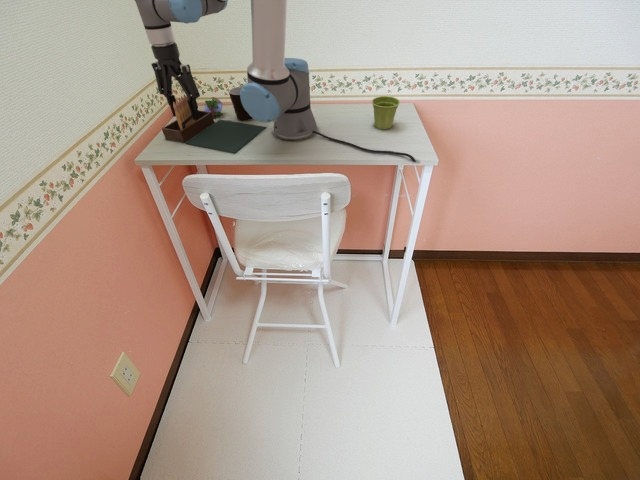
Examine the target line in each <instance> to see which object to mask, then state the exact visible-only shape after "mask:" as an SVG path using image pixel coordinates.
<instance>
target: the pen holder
mask: <svg viewBox="0 0 640 480" xmlns="http://www.w3.org/2000/svg"><path fill="white" fill-rule="evenodd" d="M198 113H199V116H200V117H199V118H198V120H197V121H196V122H194V123H192V124H191V125H189V126H188V127H186V128H184V129H183V130H181V131H180V130H179V127H178V124H177V123H178V121H177V119H175V120H173V121H171V122H170V123H168V124H167V125H165V126H163V127H162V128H161V130H162V133H163V136H164V138H165V140H166V141H171V142H177V143H182V144H186V142H187V141H189V140H190V139H192V138H193V137H195V136H196V135H198V134H199V133H201V132H202V131H204V130H205V129H207V128H208V127H210V126H211V125H213V124H214V123H215V118H213V115H212V112H207V111H204V110H200V109H198Z"/></svg>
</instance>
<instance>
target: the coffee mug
mask: <svg viewBox="0 0 640 480" xmlns="http://www.w3.org/2000/svg"><path fill="white" fill-rule="evenodd" d="M243 86H244V85H243ZM243 86H236V87H232V88H230V89H229V90H228V94H229V98H230V101H231V104H232V106H233V107H232V108H233V110H234V113H235V116H236V120H238V121H239V122H249V121H251V120H254V119H253V118H252V117H251V116H250V115H249V114H248V112H247V111H246V110H245V109H244V107H243V105H242V102H241V98H240V93H241V89H242V88H243Z"/></svg>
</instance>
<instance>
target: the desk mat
mask: <svg viewBox="0 0 640 480" xmlns="http://www.w3.org/2000/svg"><path fill="white" fill-rule="evenodd" d="M265 129H266V126H263V125H256V124H251V123H243V122H239V121H232V120H225V119H219V120H217V121H216V122H214V123H213V124H212V125H210V126H209V127H207V128H206V129H204V130H203V131H201V132H200V133H198V134H197V135H195V136H194V137H192V138H191V139H189V140H188V141H186V142H185V145H188V146H194V147H199V148H205V149H210V150H215V151H218V152H219V151H220V152H225V153H229V154H233V155H234V154H236V153H238V152H239V151H240V150H241V149H242V148H243V147H245V146H246V145H247V144H248V143H250V142H251V141H252V140H253V139H254V138H255V137H257V136H258V135H259V134H260V133H261V132H263V131H264V130H265Z"/></svg>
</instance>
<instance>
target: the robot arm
mask: <svg viewBox="0 0 640 480" xmlns="http://www.w3.org/2000/svg"><path fill="white" fill-rule="evenodd" d="M134 2H135V4H136V7H137V10H138V13H139V16H140V18H141V22H142V24H143V28H144V30H145V33H146V36H147V40H148V43H149V44H150V45H151V47H150V49H151V51H152V54H153V56H154V59H155V60H156V61H155V62H152V63H151V65H150V66H151V67H152V69H153V72H154V76H155V80H156V85H157V88H158V93H159V94H160V95H163V96H164V97H165V98H166V102H167V104H168V106H169V107H170V110H171V114H172V116H173V117H174V118H176V115H175V110H174V106H173V102H175V104H176V100H177V99H176V97H175V94H174V92H173V88H172V87H173V78H174V80H175V81H177V83H178V84H179V85H180V88H181V89H182V90H183V92H184V94H185V96H186V95H187V97H188V99H189V100H187V101H188V105H189V108H190V111H191V115H192V118H193V120H196V119H197V118H199V117H200V116H199V113H198V110H199V104H198V101H197V99H198V98H200V97H201V94H200V91H199V90H198V87H197V84H196V82H195V78H194V77H193V74H192V71H191V66H190V64H183V63H182V62H181V60H180V56H181V55H180V50H179V46H178V44H177V42H175V41H176V37H175V34H174V30H173V26H172V23H182V24H195V23H197V22H199V21H200V19H201V18H203V17H205V16H209V15H214V14H219V13H220V12H221V11H224V10H225V9H226V8H227V6H228V3H229V0H134ZM287 7H288V0H250V15H251V20H250V21H251V52H252V54H251V55H252V61H251V62H250V64H249V65H248V66H247V67H246V70H247V71H246V74H247V75H246V78H247V82H246V83H245V84H244V85H243V88H242V89H241V93H240V98H241V102H242V105H243V107H244V109H245V110H246V111H247V112H248V114H249V115H250V116H251V117H252V118H253V119H252V120H255V121H257V122H259V123H262V124H263V123H265V124H267V123H271V122H273V125H272V126H273V127H272V129H273V135H274V136H275V137H276V138H278V139H279V140H283V141H289V142H296V141H297V142H298V141H304V140H306V139H309V138H311V137H313V136H314V135H318V136H320V137H322V138H324V139H327V140H330V141H333V142H336V143H340V144H344V145H347V146H350V147H353V148H356V149H357V150H358V149H359V150H360V151H365V152H368V153H374V154H389V155H390V154H391V155H395V156H403V157H408V158H409V159H411V161H412V162H413V163H416V162H417V160H416V158H415V157H414V156H413V155H411V154H409V153H406V152H398V151H392V150H378V149H377V150H376V149H370V148H366V147H362V146H359V145H356V144H354V143H351V142H348V141H346V140H341V139H337V138H334V137H330V136H327V135H325V134H323V133H321V132H319V131H318V125H317V121H316V119H315V116H314V113H313V111H312V108H311V87H310V71H309V63H308V62H307V61H306V60H305V59H302V58H297V57H286V32H287V12H288V11H287V10H288V9H287ZM406 251H407V246H404V247H403V253H406Z"/></svg>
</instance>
